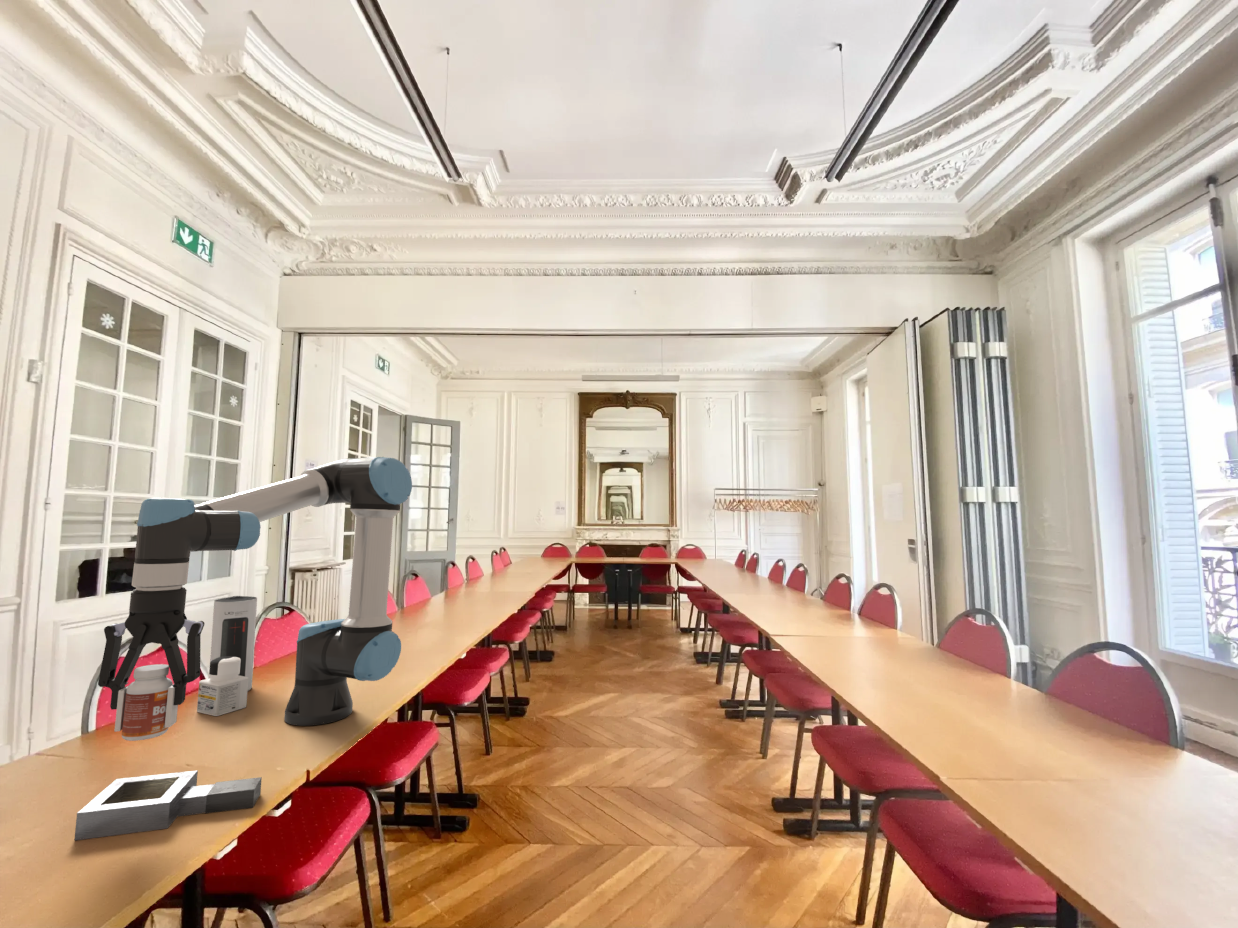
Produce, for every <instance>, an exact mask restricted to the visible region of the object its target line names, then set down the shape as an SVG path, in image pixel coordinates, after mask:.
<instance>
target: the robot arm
mask: <svg viewBox="0 0 1238 928" xmlns="http://www.w3.org/2000/svg"><path fill="white" fill-rule="evenodd" d="M412 479H413V478H412V476H411V473H410V470H409V469H408V468H407V467H406V465H405V464H404V462H402V461H401V460H399V459H397V458H394V457H388V456H387V457H384V456H375V457H349V458H342V459H338V460H336V461H333V462H329V463H326V464H323V465H319V466H315V467H313V468H309V469H305V470H304V471H302V473H301V474H300V476H296V477H292V478H288V479H285V480H284V479H283V480H281V481H277V482H274V483H270V484H267V485H264V486H259V487H256V488H252V489H249V490H245V491H241V492H238V493H234V494H231V495H226V496H224V497H219V498H216V499H212V500H209V501H206V502H205V501H204V502H202V503H199V504H195V501H194V500H193V499H190V498H170V497H169V498H168V497H162V498H161V497H149V498H146V499H144V500H143V501H142V503H141V505H140V509H139V513H138V519H137V522H136V526H137V530H136V540H135V541H136V542H135V552H134V562H133V563H134V564H133V570H132V579H131V586H132V587H133V588H135V589H133V590H132V591H131V592H130V599H129V606H128V612H129V613H128V616H127V618H126V619H125V620H124V621H123V622H119V623H117V622H115V623H113V624H110V625H106V626H105V627H104V629H103V632H104V637H105V646H104V651H103V655H102V660H101V666H100V672H99V677H98V680H97V686H98V687H99V688H104V687H105V688H108V689H110V690H111V697H110V706H109V707H110V709H111V710H113V711H114V710H116V711H115V722H114V730H113V731H114V732H122V727H123V718H124V709H125V699H126V691H127V687H128V686H129V685H128V684H129V682H128V681H129V680H130V677H131V675H132V673H133V672H134V669H135V667H136V664H137V663H138V660H139V659H140V656H141V654H142V652H143V650H144V648H145V647H146V645H148V644H152V643H153V644H160V645H161V648H162V650H163V651H164V654H165V657H166V660H167V665H169V673H170V675H171V678H172V679H171V680H172V683H173V685H172V686H170V687H169V688H168V696H167V707H166V717H165V728H167V727H169V728H171V727H172V726H173V725H175V724H176V722H178V721H177V719H178V711H179V710H178V709H179V706H181V705H182V704H184V702H185V700H186V691H187V685H188V683H192V682H194V681H196V680H197V679H198V678H200V677H201V634H202V632H203V629H204V627H205V622H204V621H203V620H198V621H195V620H190V619H188V617H187V615H186V614H185V610H186V600H187V599H186V598H187V591H188V590H187V589H186V587H183V586H185V585H187V583H188V575H189V568H190V558H191V557H190V556H191V552H215V551H218V552H219V551H234V552H235V551H238V550H239V551H241V550H247V549H251V548H252V547H254V546H255V545H256V544H257V542H258V541H259V538H260V535H261V526H262V525H261V523H262V522H265V521H267V520H271V519H273V518H274V519H275V518H277V517H280V516H283V515H286V514H288V513H292V512H295V511H298V510H301V509H304V508H306V507H310V506H312V507H315V508H320V507H322V506H326V505H331V504H349V511H350V512H351V513H352V514H353V515H354V516H355V528H354V540H353V542H354V543H353V554H352V555H353V556H352V567H351V568H352V569H351V580H350V593H349V595H350V596H349V603H348V604H349V605H348V606H349V607H348V615H347V617H346V618H339V619H329V620H322V621H316V622H311V623H306V624H304V625H302V626H301V627H300V628H299V630H298V634H297V639H296V654H295V655H296V658H295V676H294V677H295V678H294V687H293V690H292V692H291V694H290V697H289V699H288V701H287V704H286V707H285V710H284V717H283V719H284V723H286V724H289V725H293V726H299V727H300V726H302V727H303V726H304V727H305V726H306V727H307V726H308V727H309V726H317V725H325V724H330V723H334V722H337V721H340V720H342V719H345V718H347V717H349V716H350V715H351V714H352V713H353V706H354V705H353V704H354V702H353V699H352V695H351V692H350V687H349V685H348V684H349V683H348V681H347V679H354V680H357V681H361V682H365V681H368V682H377V681H379V680H382V679H384V678H386V677H387V676H388V675H389V674H390V673H391V672H392V670H393V669H394V668H395V667H396V666H397V663H398V661H399V659H400V655H401V652H402V641H401V639H400V637H399V635H398V634H397V633H395V631H393V620H392V618H390V617H389V616H388V614H387V611H388V599H389V597H388V595H389V582H390V568H391V566H390V565H391V553H392V539H393V528H394V527H393V524H394V518H395V517H396V516H397V515H398V514H399V513H401V504H403V503H405V502H406V501H407V500H408V499H409V498H408V497H410V496H411V494H412V493H411V492H412V489H413V481H412ZM183 628H184V629H185V633H186V634H187V638H186V642H187V643H186V666H185V663H184V659H183V656H182V653H181V649H180V646H179V638H178V633H179V632H180V630H181V629H183ZM126 630H127V631H128V632H129V633H130V635H131V637H132V640H131V641H130V644H129V646H128V650H127V652H126V654H125V656H124V659H123V661H122V663H121V665H120V667H119V669H118V671H117V668H118V667H117V666H118V662H119V657H120V651H121V646H122V640H123V635H124V634H125V633H126ZM116 672H117V673H116ZM126 685H127V686H126Z"/></svg>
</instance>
